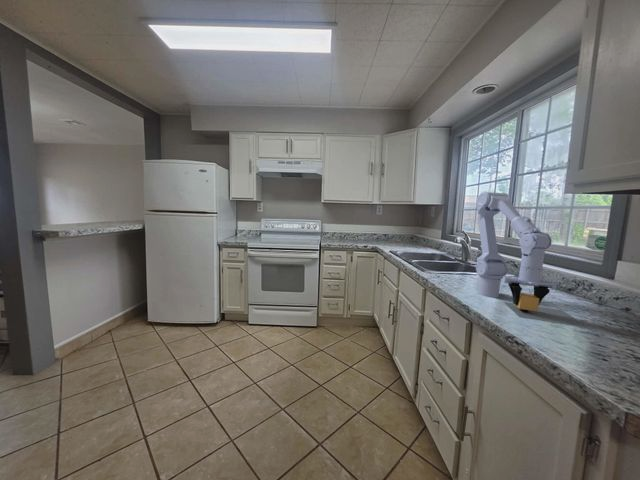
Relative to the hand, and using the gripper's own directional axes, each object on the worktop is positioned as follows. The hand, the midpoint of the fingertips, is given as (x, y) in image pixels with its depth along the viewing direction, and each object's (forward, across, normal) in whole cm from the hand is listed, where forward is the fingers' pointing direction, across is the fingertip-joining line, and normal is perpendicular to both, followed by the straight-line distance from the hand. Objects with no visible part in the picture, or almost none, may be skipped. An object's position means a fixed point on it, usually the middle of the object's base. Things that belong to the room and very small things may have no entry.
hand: (525, 305), depth 85 cm
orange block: (+1, 0, 0) cm, 1 cm away
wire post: (+2, 0, 0) cm, 2 cm away
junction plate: (+3, +5, 0) cm, 6 cm away
